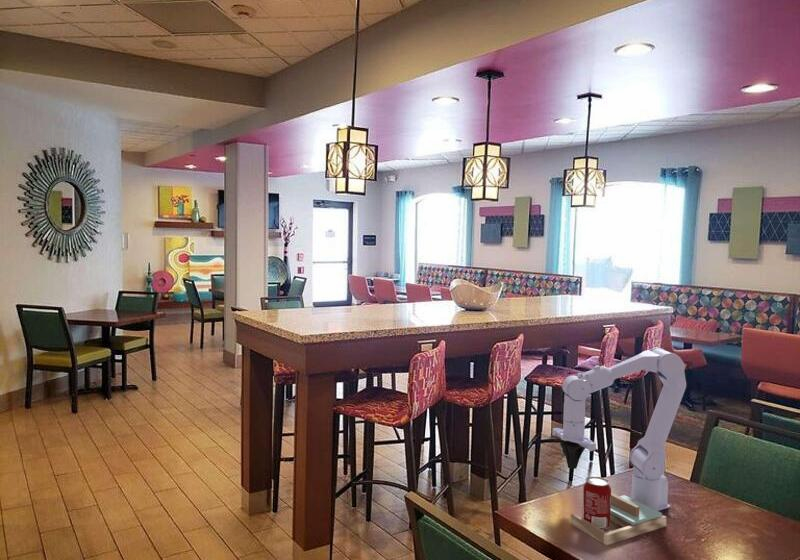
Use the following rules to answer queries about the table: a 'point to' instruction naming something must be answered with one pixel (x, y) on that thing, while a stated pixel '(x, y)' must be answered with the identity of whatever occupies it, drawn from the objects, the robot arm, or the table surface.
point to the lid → (631, 510)
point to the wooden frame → (620, 533)
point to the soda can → (597, 501)
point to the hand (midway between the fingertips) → (572, 467)
